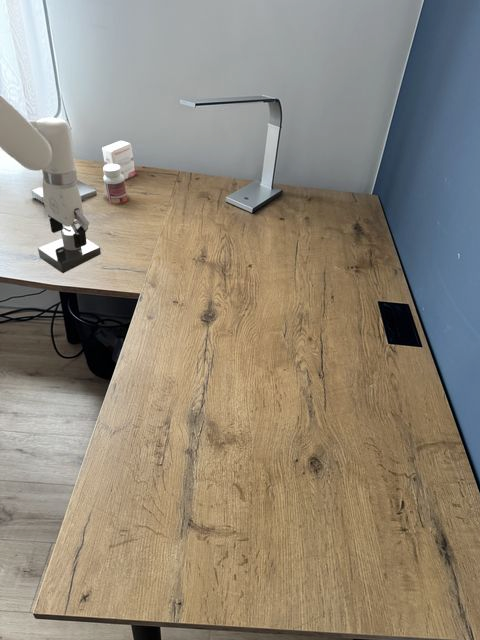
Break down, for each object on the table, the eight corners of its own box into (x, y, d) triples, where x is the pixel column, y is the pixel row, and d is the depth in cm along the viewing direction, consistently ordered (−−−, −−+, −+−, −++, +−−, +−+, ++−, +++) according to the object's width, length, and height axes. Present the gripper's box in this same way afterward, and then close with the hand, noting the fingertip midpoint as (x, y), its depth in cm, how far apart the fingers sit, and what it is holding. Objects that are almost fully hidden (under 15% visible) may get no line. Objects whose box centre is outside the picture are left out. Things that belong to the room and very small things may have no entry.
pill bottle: (131, 201, 159) (126, 166, 151) (117, 208, 156) (111, 173, 148) (118, 195, 162) (112, 161, 154) (103, 202, 158) (96, 167, 150)
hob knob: (84, 246, 134) (82, 230, 130) (70, 252, 131) (67, 236, 128) (74, 239, 135) (71, 223, 132) (60, 245, 133) (57, 229, 129)
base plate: (63, 274, 129) (61, 263, 127) (39, 257, 133) (37, 247, 131) (101, 256, 136) (100, 246, 134) (78, 241, 140) (76, 231, 138)
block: (55, 213, 150) (52, 201, 147) (29, 197, 155) (26, 185, 152) (99, 197, 160) (97, 186, 157) (73, 183, 165) (71, 171, 162)
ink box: (126, 173, 173) (121, 139, 165) (136, 177, 171) (131, 142, 163) (107, 182, 168) (101, 147, 160) (117, 186, 166) (111, 151, 158)
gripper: (24, 166, 121) (36, 229, 132) (68, 192, 114) (77, 257, 125) (51, 159, 125) (61, 221, 137) (96, 184, 119) (102, 247, 130)
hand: (69, 238), depth 131 cm, fingers open, 9 cm apart
